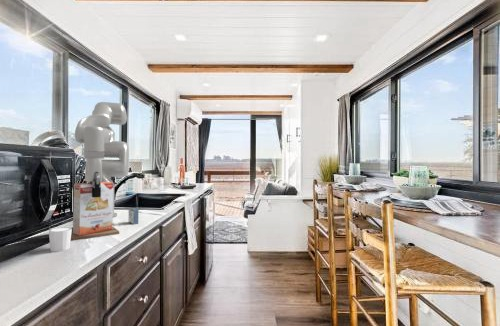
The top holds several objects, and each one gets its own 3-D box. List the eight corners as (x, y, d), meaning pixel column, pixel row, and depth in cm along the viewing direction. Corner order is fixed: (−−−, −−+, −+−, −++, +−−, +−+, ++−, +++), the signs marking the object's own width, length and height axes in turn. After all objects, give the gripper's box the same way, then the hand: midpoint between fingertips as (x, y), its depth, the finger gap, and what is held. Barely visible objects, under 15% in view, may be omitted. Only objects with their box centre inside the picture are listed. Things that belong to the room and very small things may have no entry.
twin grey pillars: (78, 228, 128) (78, 213, 128) (134, 221, 144) (134, 208, 144) (80, 231, 123) (80, 215, 123) (138, 223, 139) (138, 209, 139)
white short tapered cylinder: (74, 249, 99) (74, 229, 99) (50, 253, 94) (51, 233, 94) (68, 244, 104) (68, 226, 103) (46, 249, 99) (46, 229, 98)
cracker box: (79, 236, 111) (80, 184, 111) (72, 234, 115) (72, 183, 114) (113, 229, 123) (113, 182, 123) (105, 227, 126) (106, 181, 126)
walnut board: (66, 234, 117) (66, 232, 117) (112, 228, 129) (112, 226, 128) (70, 240, 109) (70, 238, 109) (119, 233, 120) (119, 231, 120)
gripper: (80, 154, 123) (80, 193, 123) (87, 155, 109) (87, 199, 110) (99, 155, 127) (99, 192, 128) (108, 156, 114) (108, 197, 115)
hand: (93, 195), depth 119 cm, fingers open, 9 cm apart
